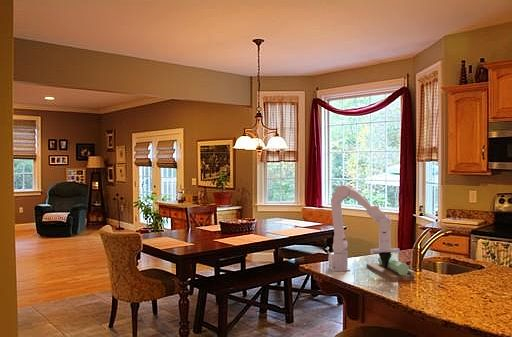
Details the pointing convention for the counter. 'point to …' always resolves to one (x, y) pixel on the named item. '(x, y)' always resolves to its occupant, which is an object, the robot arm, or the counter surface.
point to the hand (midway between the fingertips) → (385, 267)
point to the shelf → (390, 273)
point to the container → (396, 266)
